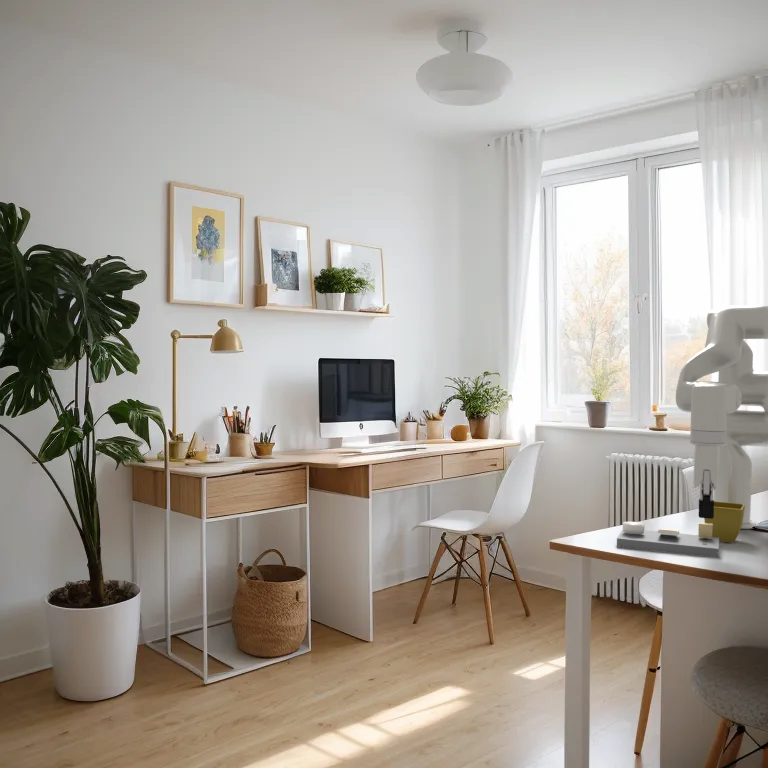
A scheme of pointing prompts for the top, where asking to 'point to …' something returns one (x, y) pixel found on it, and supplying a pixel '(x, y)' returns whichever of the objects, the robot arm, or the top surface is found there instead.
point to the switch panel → (670, 543)
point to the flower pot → (726, 521)
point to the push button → (633, 527)
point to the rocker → (668, 531)
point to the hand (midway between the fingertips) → (706, 517)
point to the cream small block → (705, 530)
